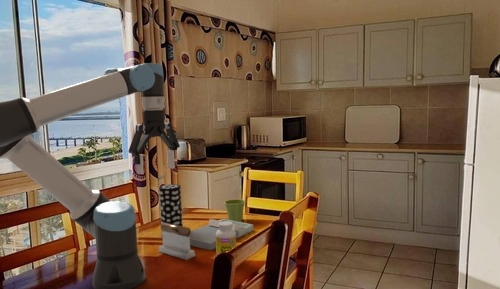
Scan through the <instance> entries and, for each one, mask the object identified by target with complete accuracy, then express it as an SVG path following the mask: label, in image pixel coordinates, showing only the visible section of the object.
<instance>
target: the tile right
mask: <svg viewBox="0 0 500 289" xmlns="http://www.w3.org/2000/svg"><path fill="white" fill-rule="evenodd" d="M232 224H233V223H232ZM241 228H244V226H241V225H237V224H233V227H232V229H233V230H234V231H237V230H239V229H241Z"/></svg>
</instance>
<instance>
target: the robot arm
mask: <svg viewBox="0 0 500 289" xmlns="http://www.w3.org/2000/svg"><path fill="white" fill-rule="evenodd" d="M163 68H164V67H163V65H162V64H161V63H158V62H157V63H156V62H152V63H151V62H149V63H148V62H147V63H146V62H145V63H141V64H136V65H132V66H129V67H123V68H116V67H114V68H106V69H105V70H104V73H103V75H102V76H98V77H95V78H92V79H89V80H85V81H81V82H79V83H76V84H73V85H69V86H66V87H64V88H60V89H57V90H54V91H51V92H47V93H45V94H41V95H38V96H35V97H32V98H29V99H27V98H25V97H22V96H21V97H19V98H15V99H12V100H7V101H1V102H0V159H7V160H8V161H10V162H11V163H12V164H13V165H15V166H16V167H17V168H18V169H20V171H22V172H23V173H24V174H25V175H27V176H28V177H29V178H30V179H31V180H32V181H34V182H35V183H36V184H37V185H39V186H40V187H41V188H42V189H43V190H45V191H46V192H47V193H48V194H49V195H51V196H52V197H53V198H54V199H55V200H56V201H57V202H59V203H60V204H61V205H63V207H64V208H66V209H67V210H69V212H70V214H69V216H70V219H71V220H73V222H75V224H77V225H78V226H80V227H81V229H83V230H84V232H86V233H88V234H90V236H92V238H94V239H95V249H96V263H95V267H94V270H93V271H94V272H93V275H92V278H91V279H92V288H93V289H135V288H136V287H138V286H140V285H141V284H143V283H144V282H145V280H146V272H145V267H144V264H143V263H142V261H141V259H140V256H139V253H138V252H139V251H138V236H137V215H136V212H135V211H136V210H135V207H134V206H133V205H132V204H131V203H129V202H126V201H119V200H117V201H116V200H113V201H111V200H110V199H109V198H108V197H106V195H104V194H103V193H102V192H101V191H100V190H99V189H90V187H88V186H87V185H86V184H85V183H83V182H82V181H81V180H80V179H79V178H78V177H77V176H76V175H75V174H73V172H71V171H70V170H69V169H68V168H66V166H64V164H62V163H61V162H60V161H58V160H57V159H56V157H55V156H54V155H52V154H51V153H50V152H49V151H48V150H46V148H44V147H43V146H42V145H41V144H40V143H39V142H38V141H36V139H34V138H33V137H32V134H35V133H37V132H39V129H40V128H41V127H43V126H46V125H49V124H51V123H54V122H57V121H59V120H62V119H65V118H67V117H70V116H71V117H72V116H73V115H74V116H75V115H77V114H79V113H82V112H84V111H87V110H91V109H93V108H95V107H98V106H101V105H105V104H107V103H110V102H112V101H115V100H118V99H120V98H124V97H126V96H129V95H133V94H135V93H141V109H143V110H142V112H141V114H142V121H143V124H136V125H135V132H134V134H133V136H132V137H133V138H132V140H131V143H130V146H129V149H128V154H132V155H133V158H134V160H133V161H134V164H135V165H136V167H135V168H136V174H137V175H144V174H145V172H144V157H143V156H144V155H143V154H142V152H143V150H144V148H145V147H146V145H147V144H148V142H149V140H150V139H152V138H155V137H156V138H157V137H160V139H161V140H162V141H163V142H164V144H165V145H166V147H167V148H168V149H167V150H166V152H167V166H168V167H167V168H168V169H172V170H173V169H176V168H175V167H176V164H175V163H176V162H175V159H176V157H177V156H176V151H178V148H180V147H181V144H180V143H179V141H178V138H177V136H176V134H175V131H174V129H173V123H172V122H165V120H166V112H165V110H164V109H165V108H166V105H165V89H164V88H165V87H164V85H165V84H164V80H165V79H164V78H165V76H164V69H163ZM143 131H144V132H143Z"/></svg>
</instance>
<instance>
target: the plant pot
mask: <svg viewBox="0 0 500 289" xmlns="http://www.w3.org/2000/svg"><path fill="white" fill-rule="evenodd" d="M223 203H224V205H225V208H226V213H227V220H232V221H237V222H243V218H244V207H245V205H246V204H245V203H246V200H244V199H239V198H237V199H236V198H235V199H234V198H233V199H227V200H225V201H224V202H223Z"/></svg>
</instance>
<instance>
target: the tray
mask: <svg viewBox="0 0 500 289" xmlns="http://www.w3.org/2000/svg"><path fill="white" fill-rule="evenodd" d="M218 221H222V222H223V221H230V222H232V223H233V224H237V225H241V226H244V228H241V229H239V230H237V231H238V238H240V237H242V236H244V235H247V234H249V233H251V232H253V231H254V224H251V223H247V222H243V221H241V222H237V221H232V220H228V218H227V219H226V218H222V219H219V220H218Z"/></svg>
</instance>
